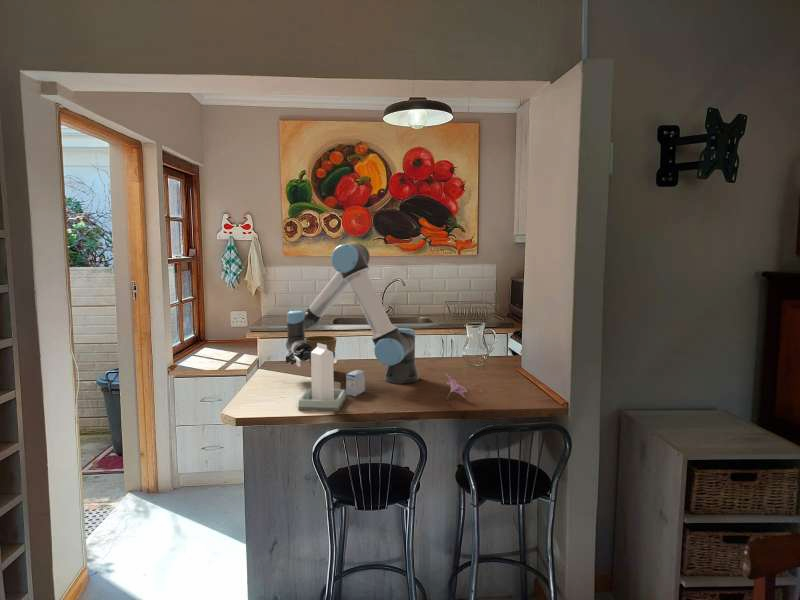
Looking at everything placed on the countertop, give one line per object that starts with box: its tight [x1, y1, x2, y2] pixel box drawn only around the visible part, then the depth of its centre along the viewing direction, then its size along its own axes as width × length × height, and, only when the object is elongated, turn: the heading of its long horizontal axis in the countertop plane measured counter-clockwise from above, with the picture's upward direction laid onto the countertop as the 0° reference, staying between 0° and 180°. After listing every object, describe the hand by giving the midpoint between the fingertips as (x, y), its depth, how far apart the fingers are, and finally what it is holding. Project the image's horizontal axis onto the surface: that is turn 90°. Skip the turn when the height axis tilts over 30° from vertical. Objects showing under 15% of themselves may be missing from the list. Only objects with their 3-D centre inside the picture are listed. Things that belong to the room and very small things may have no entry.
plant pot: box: [305, 335, 337, 366], centre depth 239 cm, size 15×15×16 cm
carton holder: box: [297, 388, 347, 412], centre depth 193 cm, size 15×15×4 cm
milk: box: [310, 343, 335, 400], centre depth 191 cm, size 6×6×22 cm
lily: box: [444, 372, 468, 399], centre depth 199 cm, size 12×12×10 cm
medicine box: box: [345, 369, 366, 397], centre depth 206 cm, size 8×4×9 cm, turn 155°
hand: (316, 361), depth 198 cm, fingers open, 13 cm apart
